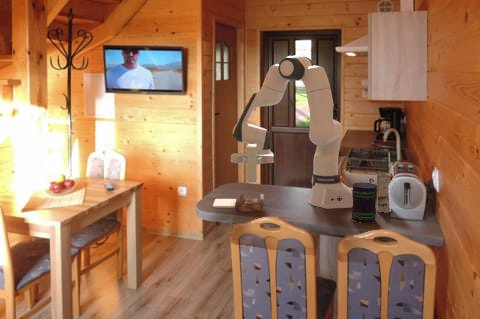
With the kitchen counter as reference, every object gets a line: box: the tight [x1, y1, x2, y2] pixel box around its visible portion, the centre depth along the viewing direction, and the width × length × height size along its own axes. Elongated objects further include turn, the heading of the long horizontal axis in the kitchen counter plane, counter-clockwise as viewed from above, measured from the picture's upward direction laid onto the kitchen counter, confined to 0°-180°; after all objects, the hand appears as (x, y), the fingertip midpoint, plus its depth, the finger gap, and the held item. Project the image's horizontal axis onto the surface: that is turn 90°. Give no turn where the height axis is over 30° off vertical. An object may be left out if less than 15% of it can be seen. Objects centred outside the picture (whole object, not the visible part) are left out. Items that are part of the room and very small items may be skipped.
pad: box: [212, 198, 237, 209], centre depth 230 cm, size 10×13×1 cm
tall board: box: [246, 144, 258, 183], centre depth 226 cm, size 4×10×16 cm, turn 177°
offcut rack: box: [237, 193, 265, 213], centre depth 226 cm, size 11×18×4 cm, turn 177°
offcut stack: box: [243, 197, 258, 204], centre depth 220 cm, size 6×4×5 cm, turn 87°
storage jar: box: [351, 182, 377, 224], centre depth 203 cm, size 10×10×15 cm
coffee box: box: [376, 172, 394, 214], centre depth 218 cm, size 9×6×16 cm
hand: (251, 160), depth 225 cm, fingers closed on tall board, 4 cm apart
